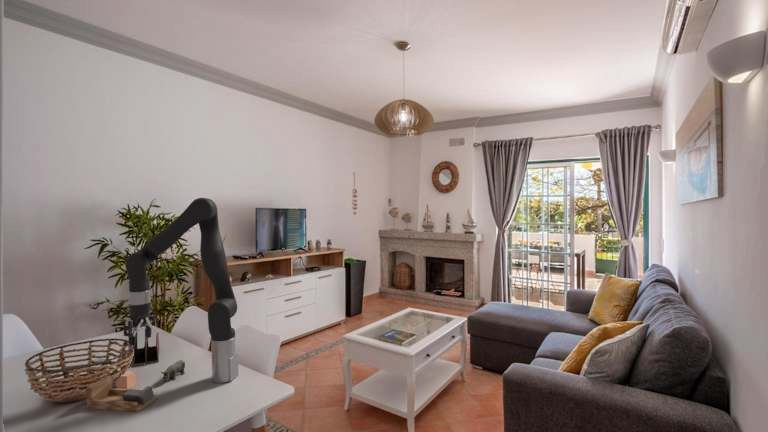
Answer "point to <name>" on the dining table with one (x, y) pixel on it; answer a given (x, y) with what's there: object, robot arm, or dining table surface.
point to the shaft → (138, 395)
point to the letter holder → (146, 353)
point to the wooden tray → (111, 397)
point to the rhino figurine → (173, 370)
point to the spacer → (126, 380)
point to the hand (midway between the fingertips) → (140, 341)
